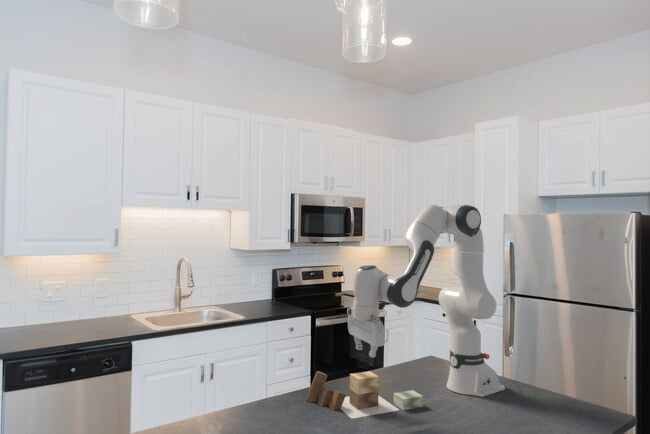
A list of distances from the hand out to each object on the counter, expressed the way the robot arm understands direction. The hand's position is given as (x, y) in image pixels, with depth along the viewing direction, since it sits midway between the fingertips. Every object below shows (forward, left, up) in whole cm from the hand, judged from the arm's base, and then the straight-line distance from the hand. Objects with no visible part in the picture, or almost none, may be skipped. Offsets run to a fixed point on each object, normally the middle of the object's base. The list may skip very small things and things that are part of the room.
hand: (365, 353), depth 154 cm
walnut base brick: (0, 0, -18) cm, 18 cm away
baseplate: (0, 0, -19) cm, 19 cm away
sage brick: (-14, +6, -19) cm, 24 cm away
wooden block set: (+12, -9, -19) cm, 24 cm away
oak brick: (0, 0, -13) cm, 13 cm away
